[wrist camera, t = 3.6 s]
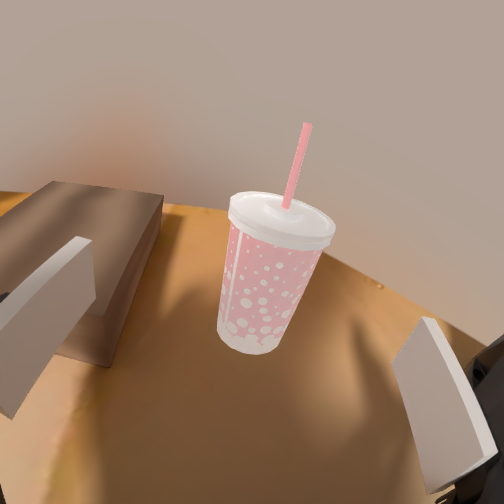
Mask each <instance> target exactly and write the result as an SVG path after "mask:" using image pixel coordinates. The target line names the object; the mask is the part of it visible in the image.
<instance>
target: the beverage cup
mask: <svg viewBox="0 0 504 504" xmlns="http://www.w3.org/2000/svg"><path fill="white" fill-rule="evenodd" d="M312 126H313V125H312V124H309V123H306V122H304V124H303V128H302V132H301V136H300V139H299V143H298V147H297V150H296V154H295V158H294V161H293V165H292V169H291V173H290V176H289V180H288V184H287V187H286V191H285V195H284V196H281V195H277V194H272V193H266V192H254V191H251V192H241V193H237V194H236V195H234V196H232V197H231V199H230V208H229V212H228V218H229V220H230V221H231V226H230V233H229V240H228V247H227V254H226V261H225V268H224V275H223V283H222V290H221V297H220V305H219V313H218V320H217V332H218V334H219V336H220V338H221V339H222V340H223V341H224V342H225V343H226V344H227V345H228V346H230V347H231V348H233V349H235V350H238V351H240V352H242V353H247V354H256V355H258V354H263V353H268V352H270V351H272V350H273V349H274V348H276V347H277V346H278V344H279V342H280V340H281V338H282V336H283V334H284V332H285V330H286V328H287V326H288V324H289V322H290V320H291V318H292V316H293V314H294V312H295V310H296V308H297V305H298V303H299V301H300V299H301V297H302V295H303V293H304V291H305V288H306V286H307V284H308V282H309V280H310V278H311V275H312V273H313V271H314V269H315V267H316V264H317V262H318V260H319V258H320V255H321V253H322V251H323V249H324V248H326V247H328V246H329V245H330V242H331V239H332V238H333V237H334V234H335V230H336V225H335V223H334V222H333V221H332V219H331V218H330V217H328V216H327V215H326V214H324V213H323V212H321V211H320V210H318V209H316V208H314V207H312V206H310V205H308V204H306V203H304V202H301V201H297V200H295V199H292V198H293V194H294V191H295V187H296V184H297V180H298V177H299V173H300V170H301V166H302V163H303V159H304V155H305V151H306V148H307V144H308V141H309V137H310V134H311V130H312Z"/></svg>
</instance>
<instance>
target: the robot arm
mask: <svg viewBox="0 0 504 504" xmlns="http://www.w3.org/2000/svg"><path fill="white" fill-rule="evenodd" d="M95 299H96V294H95V282H94V268H93V248H92V240H90V239H86V238H82V237H79V236H76V237H74V238H73V239H72V240H71V241H69V242H68V243H67V244H66V245H65V246H63V247H62V248H61V249H60V250H58V251H57V252H56V253H55V254H54V255H53V256H51V257H50V258H49V259H48V260H47V261H46V262H44V263H43V264H42V265H41V266H40V267H39V268H38V269H36V270H35V271H34V272H33V273H32V274H31V275H30V276H29V277H27V278H26V279H25V280H24V281H23V282H22V283H21V284H20V285H19V286H18V287H17V288H16V289H15V290H14V291H13V292H11V293H8V292H5V293H3V294H2V295H0V413H1V414H3V415H4V416H6V417H7V418H9V419H10V420H12V419H13V417H14V416H15V414H16V412H17V411H18V409H19V407H20V406H21V404H22V403H23V401H24V399H25V398H26V396H27V394H28V393H29V391H30V390H31V388H32V387H33V385H34V384H35V382H36V380H37V379H38V377H39V376H40V374H41V373H42V371H43V370H44V368H45V367H46V365H47V364H48V363H49V361H50V360H51V358H52V357H53V355H54V354H55V352H56V351H57V350H58V348H59V347H60V345H61V344H62V343H63V341H64V340H65V338H66V337H67V336H68V334H69V333H70V332H71V330H72V329H73V328H74V326H75V325H76V324H77V322H78V321H79V320H80V318H81V317H82V316H83V314H84V313H85V312H86V310H87V309H88V308H89V307H90V305H91V304H92V303H93V301H94V300H95ZM391 365H392V368H393V371H394V374H395V377H396V380H397V383H398V386H399V389H400V392H401V396H402V399H403V402H404V406H405V409H406V412H407V416H408V419H409V423H410V426H411V430H412V434H413V437H414V441H415V445H416V449H417V453H418V457H419V461H420V465H421V470H422V474H423V479H424V483H425V488H426V493H427V495H428V494H433V493H437V492H440V491H443V490H445V489H446V488H448V487H450V486H451V485H453V484H454V485H455V489H453V490H451V491H450V492H448V493H446V494H445V495H443V496H441V497H440V498H438V499H437V500H436V502H435V503H436V504H438V503H439V502H441V501H443V500H445V499H447V500H446V501H444V502H443V503H441V504H504V334H503V335H502V336H501V337H500V338H498V339H497V340H496V341H494V342H493V343H492V344H491V345H489V346H488V347H487V348H485V349H484V350H483V351H481V352H480V353H479V354H477V355H476V356H475V357H474V358H473V359H472V360H471V361H470V363H469V364H468V365H467V366H466V368H465V369H464V370H462V368H461V366H460V364H459V362H458V360H457V358H456V356H455V354H454V352H453V350H452V349H451V347H450V345H449V343H448V341H447V339H446V338H445V336H444V334H443V332H442V331H441V329H440V327H439V325H438V324H437V322H436V320H435V319H433V318H428V317H422V316H421V318H420V320H419V321H418V323H417V325H416V326H415V328H414V329H413V331H412V332H411V334H410V336H409V337H408V339H407V340H406V342H405V343H404V345H403V346H402V348H401V349H400V351H399V352H398V353H397V355H396V356H395V358H394V359H393V361H392V362H391ZM0 504H6V502H5V499H4V495H3V492H2V488H1V485H0Z"/></svg>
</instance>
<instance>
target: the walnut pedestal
mask: <svg viewBox="0 0 504 504" xmlns="http://www.w3.org/2000/svg"><path fill="white" fill-rule="evenodd" d="M163 199H164V196H163V195H157V194H151V193H144V192H136V191H129V190H122V189H115V188H106V187H99V186H91V185H83V184H74V183H65V182H55V181H52V182H51V183H49V184H47V185H46V186H44V187H43V188H41V189H40V190H38V191H36V192H35V193H33V194H32V195H30V196H29V197H28V198H26V199H25V200H23V201H22V202H20V203H19V204H18V205H16V206H15V207H13V208H12V209H11V210H9V211H8V212H6V213H5V214H4V215H2V216H1V217H0V295H2V294H3V293H5V292H8V293H11V292H13V291H14V290H15V289H16V288H17V287H18V286H19V285H20V284H21V283H22V282H23V281H24V280H25V279H26V278H27V277H29V276H30V275H31V274H32V273H33V272H34V271H35V270H36V269H38V268H39V267H40V266H41V265H42V264H43V263H44V262H46V261H47V260H48V259H49V258H50V257H51V256H53V255H54V254H55V253H56V252H57V251H58V250H60V249H61V248H62V247H63V246H65V245H66V244H67V243H68V242H69V241H71V240H72V239H73V238H74V237H76V236H79V237H82V238H86V239H90V240H92V248H93V268H94V282H95V294H96V299H95V300H94V301H93V303H92V304H91V305H90V307H89V308H88V309H87V310H86V312H85V313H84V314H83V316H82V317H81V318H80V320H79V321H78V322H77V324H76V325H75V326H74V328H73V329H72V330H71V332H70V333H69V334H68V336H67V337H66V338H65V340H64V341H63V343H62V344H61V345H60V347H59V348H58V350H57V351H56V352H55V354H57V355H61V356H64V357H68V358H72V359H76V360H79V361H83V362H87V363H91V364H95V365H100V366H104V367H109V368H110V367H111V364H112V360H113V357H114V354H115V351H116V347H117V344H118V341H119V338H120V335H121V332H122V329H123V326H124V323H125V320H126V318H127V315H128V312H129V309H130V306H131V303H132V301H133V298H134V295H135V293H136V290H137V287H138V285H139V282H140V279H141V277H142V274H143V272H144V269H145V266H146V264H147V261H148V259H149V256H150V254H151V252H152V249H153V247H154V244H155V242H156V240H157V237H158V235H159V232H160V225H161V216H162V207H163Z"/></svg>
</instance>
